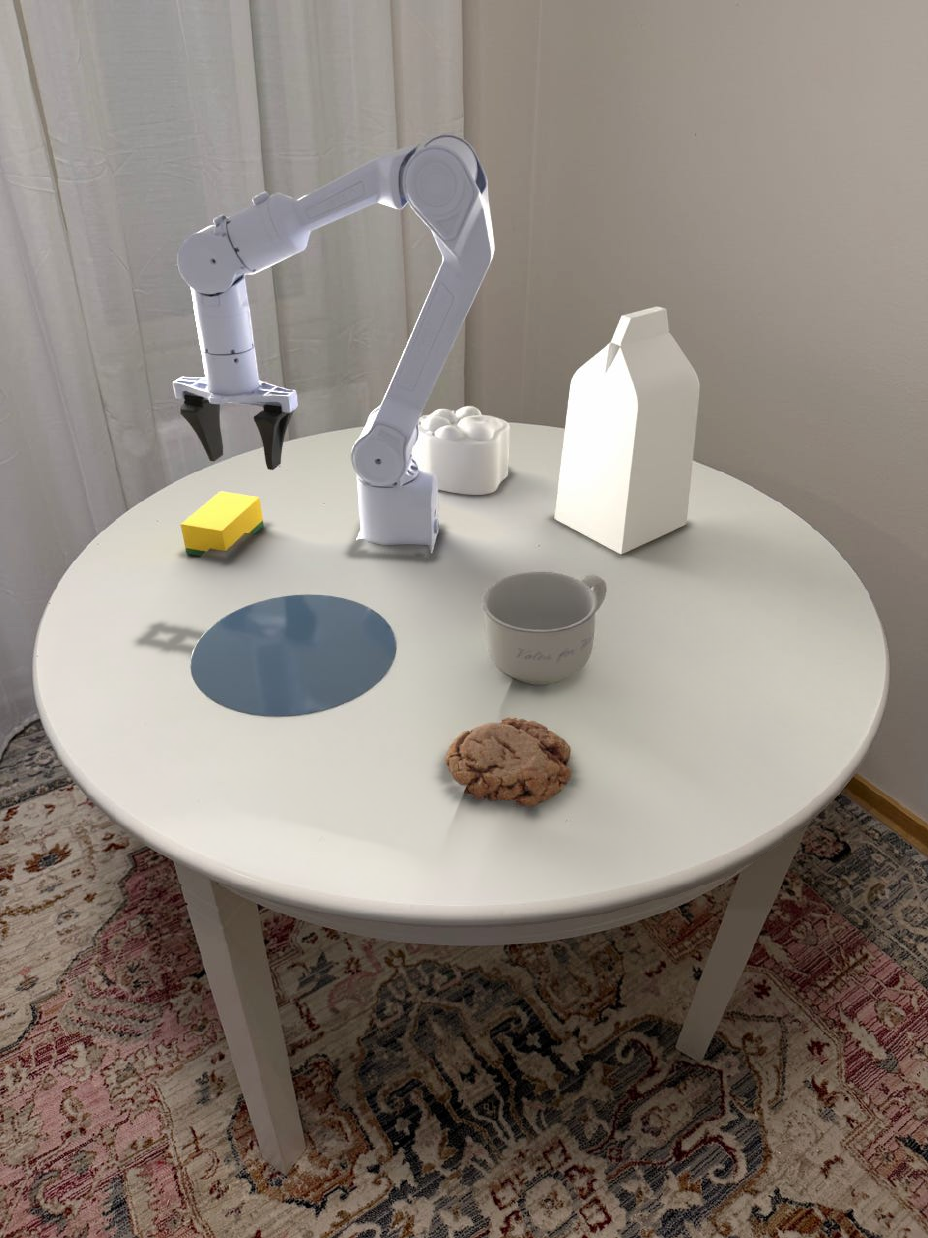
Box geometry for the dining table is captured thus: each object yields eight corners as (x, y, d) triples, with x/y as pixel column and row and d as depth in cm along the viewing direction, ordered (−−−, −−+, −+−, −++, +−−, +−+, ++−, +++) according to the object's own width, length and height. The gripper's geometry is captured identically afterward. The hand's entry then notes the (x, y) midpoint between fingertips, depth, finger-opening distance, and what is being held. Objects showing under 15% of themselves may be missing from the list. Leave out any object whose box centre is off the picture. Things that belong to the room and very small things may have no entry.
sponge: (263, 525, 110) (259, 497, 108) (227, 561, 103) (222, 531, 101) (225, 519, 112) (220, 490, 109) (186, 553, 104) (180, 524, 102)
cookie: (430, 748, 77) (429, 722, 75) (539, 720, 80) (541, 694, 78) (471, 829, 69) (471, 803, 68) (591, 794, 72) (594, 768, 71)
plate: (411, 611, 95) (411, 600, 94) (376, 736, 78) (375, 724, 77) (231, 599, 96) (229, 588, 96) (160, 719, 80) (157, 707, 79)
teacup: (516, 712, 81) (519, 642, 76) (462, 650, 89) (462, 583, 84) (638, 670, 86) (649, 602, 82) (577, 614, 94) (583, 549, 90)
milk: (621, 554, 105) (647, 334, 90) (554, 518, 112) (568, 310, 97) (686, 524, 111) (721, 314, 96) (619, 492, 118) (641, 292, 103)
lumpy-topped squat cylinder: (488, 498, 116) (490, 437, 111) (399, 482, 120) (397, 422, 115) (514, 467, 124) (516, 409, 119) (429, 453, 128) (428, 396, 123)
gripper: (148, 351, 94) (172, 467, 102) (270, 365, 91) (285, 484, 99) (184, 332, 100) (204, 444, 108) (300, 344, 96) (312, 459, 104)
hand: (245, 462), depth 103 cm, fingers open, 7 cm apart
